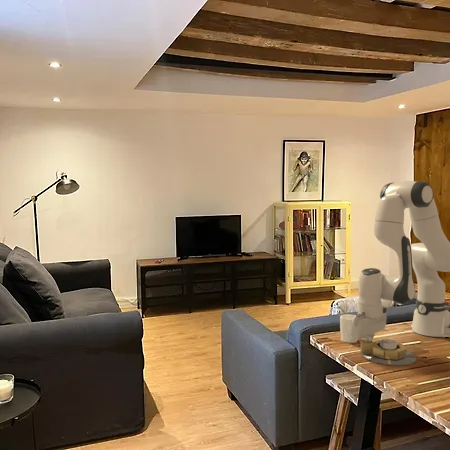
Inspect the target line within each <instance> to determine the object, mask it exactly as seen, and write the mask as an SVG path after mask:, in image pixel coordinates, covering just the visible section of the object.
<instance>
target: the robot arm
mask: <svg viewBox="0 0 450 450" xmlns="http://www.w3.org/2000/svg"><path fill="white" fill-rule="evenodd" d="M379 198H380V199H379V202H378V203H377V208H376V212H375V215H374V216H375V217H374V226H373V233H374V236H375V238H376V239H377V241H378V242H380V243H381V244H383V245H384V246H387V248H390V249H392V250H393V251H394V252H395V253H396V255H397V259H398V274H399V275H398V276H390V275H386V274H382V271H381V269H379V268H373V267H369V268H364V269H363V270H361V271H360V274H359V279H358V300H357V314H355V315H356V317H355V318H354V319H353V322H352V330H351V336H352V337H353V338H356V339H358V340H361V339H363V341H372V342H373V339H374V338H375V334H376V333H378V332H382V331H383V330H385V328H387V313H388V307H387V306H383V305H382V300H384V301H389V302H394V303H397V304H399V305H407V304H409V303H410V302H411V301H413V300H414V299H416V300H415V307H416V308H415V309H414V311H413V319H412V323H411V324H410V327H411V331H413V332H414V333H416V334H418V335H422V336H425V337H435V338H445V337H450V311H449V310H448V307H450V300H446V284H445V282H444V280H443V279H441V277H440V276H439V274H438V272H441V273H442V272H443V273H444V272H445V273H447V272H448V273H450V241H449V240H448V238H447V236H446V234H445V233H444V230H443V228H442V224H441V221H440V217H439V211H438V207H437V205H436V201H435V199H434V189H433V187H432V186H431V185H430V183H429V182H426V181H422V180H421V181H420V180H418V181H415V180H405V181H397V182H389V183H386V184H385V185H383V186H382V188H381V191H380V193H379ZM406 209H408V212H409V218H410V222H411V226H412V232H413V234H414V236H415V238H416V239H418V240H419V241H420V242H416V243H411V241H410V239H409V237H407V236H406V234H405V230H404V223H405V210H406ZM413 272H414V273H413ZM414 274H415V277H416V282H417V298H415V296H416V286H415V281H414Z"/></svg>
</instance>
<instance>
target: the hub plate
mask: <svg viewBox="0 0 450 450" xmlns="http://www.w3.org/2000/svg"><path fill="white" fill-rule="evenodd" d="M397 343H398V342H397V341H396V340H394V339H389V338H384V339H383V338H382V339H380V347H381V348H384V349H390V350H396V349H397ZM360 355H361V356H362V357H363V358H365V359H366V360H367V359H368V361H369V362H372V361H373V363H375V362H376V364H379V363H380V365H384V364H385V365H384V366H393V367H394V366H395V367H400V366H401V367H402V366H404V367H405V366H410V365H412V364H415V362H417V356H416V355H415V354H414V353H413V352H411V351H409V350H407V349H406V357H404V358H402V359H399V360H394V359H383V358H380V357H377V356H375V355H373V354H370V353H361V352H360ZM409 364H410V365H409Z"/></svg>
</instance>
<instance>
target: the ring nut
mask: <svg viewBox="0 0 450 450" xmlns="http://www.w3.org/2000/svg"><path fill="white" fill-rule="evenodd" d="M380 340H381V339H380ZM380 340H379V339H378V340H375V341H373V340H372V341H364V340H360V354H361V353H370V354H373V355H375V356H377V357H380V358H383V359H394V360H399V359H402V358H404V357H406V350H407V348H406V346H405V344H403V343H400V342H397V349H396V350H390V349H384V348H381V347H380Z"/></svg>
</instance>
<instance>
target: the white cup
mask: <svg viewBox="0 0 450 450" xmlns="http://www.w3.org/2000/svg"><path fill="white" fill-rule="evenodd" d="M356 315H357V314H350V313H349V314H348V313H347V314H346V313H345V314H341V315H340V316H339V328H340V329H339V330H340V341H341V342H344V343H348V344H353V343H354V344H355V343H357V342H358V340H359V339H356V338H353V337H352V336H351V330H352V322H353V319H354V318H355V317H356Z"/></svg>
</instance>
